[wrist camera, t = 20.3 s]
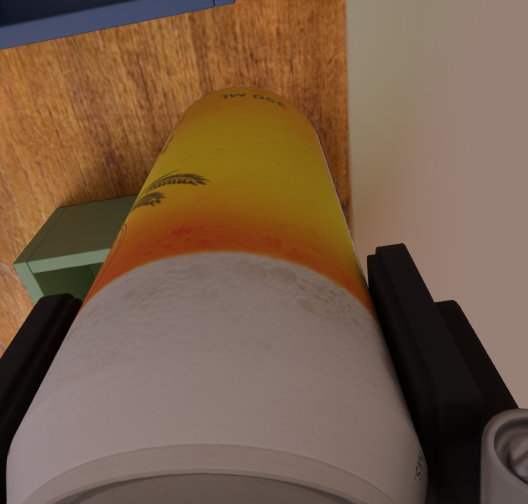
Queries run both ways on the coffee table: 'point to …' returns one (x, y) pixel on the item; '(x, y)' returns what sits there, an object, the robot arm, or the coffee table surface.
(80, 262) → the green bin
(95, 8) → the blue bin
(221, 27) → the coffee table surface
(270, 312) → the beer can
